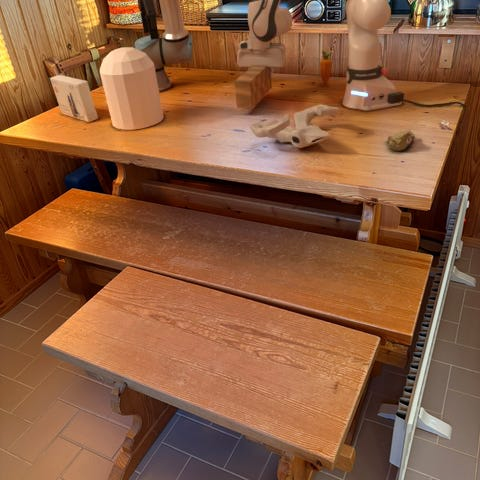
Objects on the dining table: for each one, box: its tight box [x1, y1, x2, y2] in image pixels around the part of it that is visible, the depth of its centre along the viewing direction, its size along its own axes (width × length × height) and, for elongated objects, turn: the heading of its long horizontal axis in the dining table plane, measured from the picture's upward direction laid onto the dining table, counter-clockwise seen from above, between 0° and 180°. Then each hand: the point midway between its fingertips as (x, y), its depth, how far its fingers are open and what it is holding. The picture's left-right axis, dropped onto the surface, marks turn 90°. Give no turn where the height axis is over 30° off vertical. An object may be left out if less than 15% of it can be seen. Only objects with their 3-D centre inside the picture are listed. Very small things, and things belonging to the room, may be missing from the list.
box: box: [234, 66, 273, 110], centre depth 188 cm, size 27×6×11 cm, turn 160°
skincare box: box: [49, 74, 99, 123], centre depth 193 cm, size 21×5×16 cm, turn 49°
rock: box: [387, 129, 416, 152], centre depth 146 cm, size 11×6×10 cm
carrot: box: [319, 49, 333, 86], centre depth 201 cm, size 5×5×15 cm
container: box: [99, 46, 164, 131], centre depth 180 cm, size 21×21×28 cm
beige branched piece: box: [250, 104, 341, 149], centre depth 155 cm, size 28×26×12 cm
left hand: (151, 35), depth 158 cm, fingers open, 13 cm apart
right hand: (261, 77), depth 195 cm, fingers closed on box, 6 cm apart
